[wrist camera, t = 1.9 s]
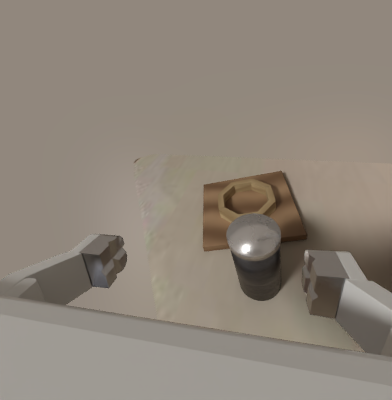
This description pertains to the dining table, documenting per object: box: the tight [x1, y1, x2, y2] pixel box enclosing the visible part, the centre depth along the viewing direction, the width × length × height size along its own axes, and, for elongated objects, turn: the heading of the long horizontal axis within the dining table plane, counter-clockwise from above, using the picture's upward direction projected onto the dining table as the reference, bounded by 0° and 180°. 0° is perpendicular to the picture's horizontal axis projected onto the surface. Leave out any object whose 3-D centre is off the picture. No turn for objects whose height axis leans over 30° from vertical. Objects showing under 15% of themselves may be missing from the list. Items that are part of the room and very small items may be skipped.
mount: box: [203, 171, 307, 251], centre depth 42 cm, size 16×16×3 cm
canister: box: [226, 213, 281, 301], centre depth 29 cm, size 6×6×11 cm
